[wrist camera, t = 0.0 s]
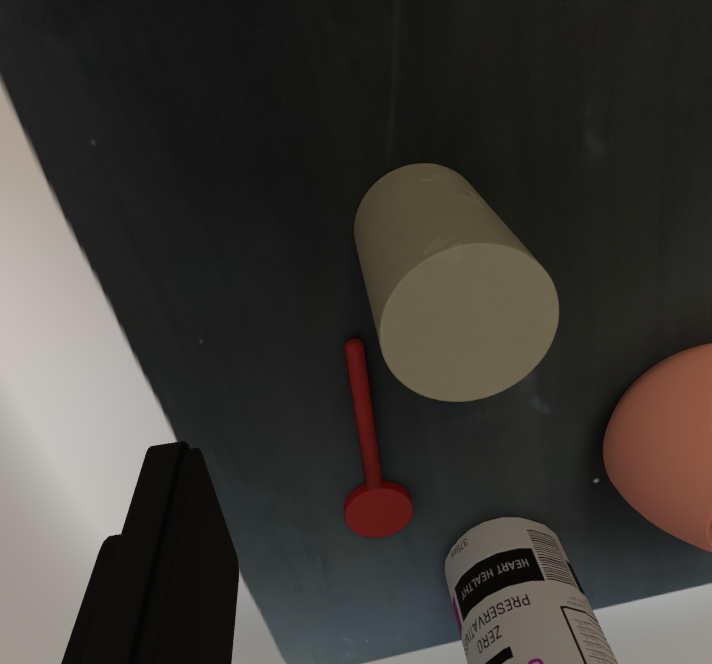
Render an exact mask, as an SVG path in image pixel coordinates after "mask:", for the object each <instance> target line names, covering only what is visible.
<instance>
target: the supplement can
mask: <svg viewBox="0 0 712 664" xmlns="http://www.w3.org/2000/svg"><path fill="white" fill-rule="evenodd" d="M445 577H446V581H447V585H448V588H449V592H450V596H451V600H452V604H453V608H454V612H455V616H456V619H457V623H458V627H459V631H460V635H461V639H462V643H463V647H464V650H465V654H466V658H467V662H468V664H618V663H617V661H616V659H615V657H614V655H613V653H612V650H611V648H610V646H609V644H608V642H607V640H606V638H605V636H604V634H603V631H602V629H601V627H600V625H599V623H598V621H597V619H596V617H595V615H594V613H593V611H592V608H591V606H590V604H589V602H588V600H587V598H586V596H585V594H584V592H583V590H582V588H581V585H580V583H579V581H578V579H577V577H576V575H575V573H574V571H573V569H572V567H571V565H570V562H569V560H568V558H567V556H566V554H565V552H564V550H563V548H562V546H561V544H560V541H559V539H558V537H557V535H556V534H555V533H554V532H553V531H551V530H550V529H549V528H548V527H547V526H545V525H544V524H540V523H537V522H534V521H531V520H528V519H523V518H519V517H502V518H498V519H494V520H489V521H485V522H483V523H481V524H479V525H477V526H475V527H473V528H471V529H469V530H468V531H467V532H466V533H465V534H464V535H463V536H462V537H461V538H460V539H458V541H457V542H456V544H455V545H454V546H453V547H452V549H451V551H450V553H449V554H448V556H447V558H446V560H445Z"/></svg>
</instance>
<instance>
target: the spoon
mask: <svg viewBox="0 0 712 664" xmlns="http://www.w3.org/2000/svg"><path fill="white" fill-rule="evenodd" d="M345 351H346V357H347V364H348V370H349V376H350V382H351V389H352V395H353V401H354V407H355V414H356V420H357V426H358V433H359V439H360V445H361V451H362V458H363V464H364V470H365V476H366V483H365V484H363V485H361V486H359V487H357V488H356V489H355V490H353V491H352V492H351V493H350V495H349V496H348V498H347V499H346V502H345V505H344V511H345V520H346V522H347V524H348V526H349V527H350V528H351V529H352V530H353V531H354V532H355V533H357V534H359V535H362V536H365V537H371V538H380V537H386V536H390V535H392V534H395V533H397V532H399V531H400V530H402V529H403V528H404V527H405V526H406V525H407V524H408V523H409V522H410V520H411V518H412V515H413V504H412V500H411V497H410V494H409V493H408V491H407V490H406V489H405V488H404V487H402V486H401V485H399V484H397V483H394V482H390V481H382V474H381V466H380V459H379V452H378V445H377V438H376V431H375V424H374V417H373V409H372V402H371V395H370V388H369V381H368V374H367V367H366V360H365V352H364V346H363V343H362V342H361V341H360V340H359V339H350V340H349V341H348V342H347V343H346V345H345Z"/></svg>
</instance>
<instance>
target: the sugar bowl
mask: <svg viewBox="0 0 712 664" xmlns="http://www.w3.org/2000/svg"><path fill="white" fill-rule="evenodd" d="M603 457H604V464H605V468H606V472H607V474H608V476H609V478H610V480H611V482H612V483H613V485H614V486H615V487H616V489H617V490H618V492H619V493H620V494H621V495H622V497H623V498H624V499H625V500H626V501H627V502H628V503H629V504H630V505H631V506H632V507H633V508H634V509H635V510H637V511H638V512H639V513H640V514H641V515H642V516H644V517H645V518H646V519H647V520H648V521H650V522H651V523H653V524H654V525H656V526H657V527H659V528H660V529H662V530H664V531H665V532H667V533H669V534H671V535H673V536H675V537H677V538H679V539H681V540H683V541H685V542H687V543H690V544H692V545H694V546H697V547H699V548H702V549H704V550H706V551H709V552H711V553H712V343H709V344H704V345H700V346H697V347H693V348H690V349H686V350H684V351H681V352H678V353H676V354H674V355H672V356H670V357H668V358H666V359H664V360H662V361H660V362H659V363H657V364H656V365H654V366H652V367H651V368H650V369H648V370H647V371H646V372H644V373H643V374H642V375H641V376H640V377H639V378H638V379H637V380H635V381H634V382H633V384H632V385H631V386H630V387H629V388H628V389H627V390H626V392H625V393H624V395H623V396H622V397H621V399H620V401H619V402H618V404H617V406H616V407H615V409H614V411H613V413H612V416H611V418H610V421H609V423H608V426H607V429H606V433H605V436H604V443H603Z"/></svg>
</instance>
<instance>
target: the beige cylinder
mask: <svg viewBox="0 0 712 664" xmlns="http://www.w3.org/2000/svg"><path fill="white" fill-rule="evenodd" d="M354 239H355V244H356V248H357V252H358V257H359V261H360V265H361V269H362V273H363V277H364V281H365V285H366V289H367V294H368V298H369V302H370V306H371V310H372V314H373V318H374V322H375V327H376V331H377V335H378V339H379V343H380V347H381V351H382V354H383V357H384V359H385V362H386V364H387V365H388V367H389V369H390V370H391V372H392V373H393V374H394V375H395V377H396V378H397V379H398V380H399V381H400V382H401V383H403V384H404V385H405V386H407V387H408V388H409V389H411V390H413V391H414V392H416V393H418V394H420V395H423V396H426V397H428V398H432V399H436V400H440V401H449V402H464V401H473V400H477V399H482V398H486V397H489V396H492V395H495V394H497V393H499V392H502V391H504V390H506V389H507V388H509V387H511V386H513V385H514V384H516V383H517V382H519V381H520V380H522V379H523V378H524V377H525V376H526V375H528V374H529V373H530V372H531V371H532V370H533V369H534V368H535V367H536V366H537V365H538V364H539V362H540V361H541V360H542V358H543V357H544V356H545V354H546V353H547V351H548V349H549V347H550V346H551V343H552V341H553V339H554V336H555V333H556V330H557V326H558V319H559V302H558V296H557V292H556V289H555V286H554V283H553V282H552V280H551V278H550V276H549V274H548V273H547V272H546V271H545V269H544V268H543V267H542V266H541V264H540V263H539V262H538V261H537V260H536V259H535V258H534V256H533V255H532V254H531V253H530V252H529V251H528V250H527V248H526V247H525V246H524V245H523V244H522V243H521V242H520V241H519V239H518V238H517V237H516V236H515V235H514V234H513V233H512V231H511V230H510V229H509V228H508V227H507V226H506V225H505V223H504V222H503V221H502V220H501V219H500V218H499V217H498V215H497V214H496V213H495V212H494V211H493V210H492V209H491V208H490V206H489V205H488V204H487V203H486V202H485V201H484V200H483V198H482V197H481V196H480V195H479V194H478V193H477V192H476V190H475V189H474V188H473V187H472V186H471V185H470V184H469V182H468V181H466V180H465V179H464V178H463V177H462V176H461V175H459V174H458V173H456V172H455V171H453V170H451V169H449V168H446V167H443V166H440V165H435V164H426V163H421V164H412V165H407V166H404V167H401V168H398V169H396V170H394V171H392V172H390V173H388V174H386V175H385V176H383V177H382V178H380V179H379V180H378V181H377V182H376V183H375V184H374V185H373V186H372V187H371V188H370V189H369V190H368V192H367V193H366V195H365V196H364V198H363V199H362V201H361V203H360V205H359V208H358V210H357V213H356V217H355V222H354Z"/></svg>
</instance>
